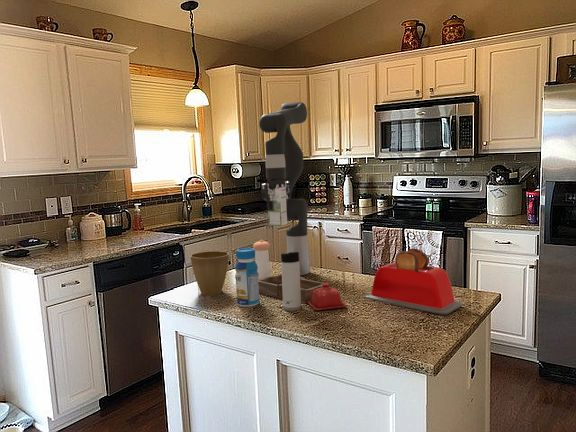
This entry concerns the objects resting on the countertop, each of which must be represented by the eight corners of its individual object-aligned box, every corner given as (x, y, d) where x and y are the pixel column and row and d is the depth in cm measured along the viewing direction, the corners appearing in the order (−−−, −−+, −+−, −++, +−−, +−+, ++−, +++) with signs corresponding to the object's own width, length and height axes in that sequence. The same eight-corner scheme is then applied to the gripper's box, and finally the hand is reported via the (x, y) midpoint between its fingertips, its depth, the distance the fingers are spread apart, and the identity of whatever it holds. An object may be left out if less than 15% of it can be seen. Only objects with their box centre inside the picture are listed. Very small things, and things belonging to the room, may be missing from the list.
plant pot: (211, 301, 180) (208, 259, 178) (184, 296, 189) (182, 255, 187) (238, 291, 191) (236, 252, 190) (212, 287, 200) (210, 249, 199)
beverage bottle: (260, 306, 171) (257, 251, 168) (236, 308, 170) (233, 252, 168) (259, 299, 179) (257, 246, 177) (237, 301, 178) (234, 248, 176)
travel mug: (288, 312, 163) (286, 254, 161) (280, 307, 169) (277, 251, 166) (305, 309, 166) (302, 251, 163) (295, 304, 171) (293, 249, 169)
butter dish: (306, 304, 172) (305, 280, 171) (337, 300, 175) (336, 277, 174) (315, 313, 161) (314, 288, 160) (347, 309, 164) (347, 285, 163)
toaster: (363, 299, 175) (361, 248, 173) (382, 291, 184) (381, 242, 182) (446, 316, 153) (446, 258, 151) (463, 306, 162) (463, 251, 160)
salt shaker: (262, 282, 205) (259, 237, 203) (275, 284, 201) (273, 239, 199) (251, 286, 199) (248, 240, 197) (264, 288, 195) (262, 241, 193)
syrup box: (287, 223, 188) (286, 186, 187) (281, 225, 183) (280, 187, 181) (274, 223, 191) (272, 187, 189) (268, 225, 185) (266, 188, 184)
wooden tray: (283, 284, 199) (282, 273, 199) (331, 295, 181) (331, 282, 181) (255, 292, 189) (255, 280, 188) (304, 304, 171) (303, 291, 170)
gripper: (268, 167, 177) (270, 212, 178) (295, 165, 187) (297, 208, 188) (254, 167, 182) (257, 211, 184) (282, 166, 192) (283, 207, 194)
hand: (277, 209), depth 186 cm, fingers closed on syrup box, 7 cm apart
